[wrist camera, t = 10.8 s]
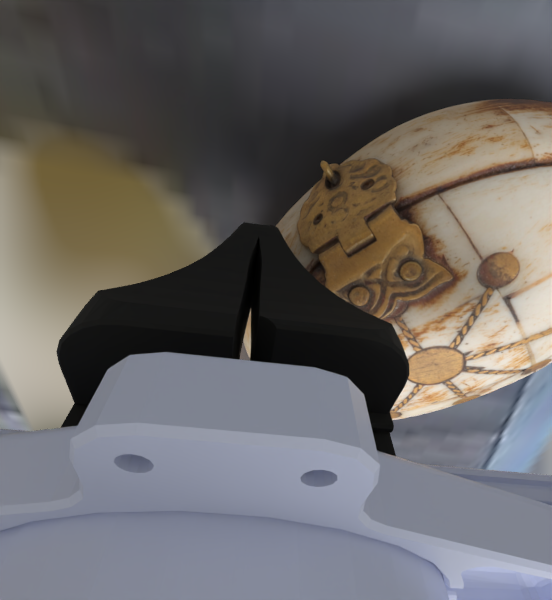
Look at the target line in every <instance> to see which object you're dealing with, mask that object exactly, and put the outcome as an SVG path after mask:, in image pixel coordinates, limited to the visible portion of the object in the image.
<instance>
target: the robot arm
mask: <svg viewBox="0 0 552 600" xmlns="http://www.w3.org/2000/svg"><path fill="white" fill-rule="evenodd" d="M250 310H251V353H250V360H240V353H241V347H242V343H243V339H244V334H245V330H246V326H247V322H248V318H249V314H250ZM57 356H58V361H59V365H60V367H61V370H62V373H63V375H64V377H65V379H66V383H67V385H68V387H69V390H70V392H71V395H72V397H73V400H74V402H75V404H74V405H73V407H72V409H71V411H70V413H69V414H68V416H67V417H66V420H65V421H64V423H63V425H62V426H61V428H54V429H45V430H36V431H20V430H8V429H0V600H552V475H541V474H530V473H518V472H506V471H494V470H482V469H470V468H458V467H447V466H435V465H423V464H418V463H415V462H412V461H409V460H405V459H402V458H399V457H396V455H395V451H394V448H393V444H392V440H391V437H390V433H389V432H392V430H393V426H394V425H393V421H392V418H391V414H390V410H391V409H392V407H393V405H394V404H395V402H396V400H397V399H398V397H399V395H400V394H401V392H402V390H403V388H404V387H405V385H406V382H407V380H408V377H409V375H410V373H409V362H408V359H407V357H406V354H405V351H404V349H403V346H402V344H401V341H400V339H399V337H398V335H397V333H396V331H395V329H394V327H393V325H392V324H391V323H389V322H386V321H384V320H382V319H380V318H378V317H375V316H373V315H371V314H369V313H367V312H365V311H363V310H361V309H359V308H357V307H355V306H354V305H352V304H350V303H348V302H347V301H345V300H344V299H342V298H340V297H339V296H337V295H336V294H335V293H333V292H332V291H330V290H329V289H328V288H326V287H325V286H324V285H323V284H321V283H320V282H319V281H318V280H317V279H316V278H315V277H314V276H312V275H311V274H310V273H309V272H308V271H307V270H306V269H305V268H304V266H303V265H302V264H301V263H300V262H299V260H298V259H297V258H296V257H295V255H294V254H293V252H292V251H291V249H290V248H289V246H288V245H287V243H286V241H285V240H284V238H283V236H282V234H281V232H280V230H279V229H278V227H274V226H267V225H259V224H252V223H243V224H241V225H240V226H239V227H238V229H237V230H236V231H235V232H234V233H233V234H232V235H231V236H230V237H229V238H227V239H226V240H225V241H224V242H223V243H222V244H221V245H220V246H218V247H217V248H216V249H214V250H213V251H212V252H210V253H209V254H208V255H206V256H205V257H203V258H202V259H200V260H198V261H196V262H194V263H192V264H191V265H189V266H186V267H184V268H182V269H179V270H177V271H174V272H172V273H170V274H167V275H164V276H161V277H158V278H155V279H152V280H148V281H145V282H141V283H137V284H133V285H128V286H123V287H117V288H112V289H107V290H100V291H98V292H97V293H96V294H95V295H94V296H93V297H92V298H91V299H90V301H89V302H88V303H87V304H86V305H85V306H84V308H83V309H82V310H81V312H80V313H79V314H78V316H77V317H76V319H75V320H74V321H73V323H72V324H71V325H70V327H69V328H68V329H67V331H66V332H65V333H64V335H63V336H62V337H61V339H60V340H59V344H58V348H57Z"/></svg>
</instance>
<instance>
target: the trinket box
mask: <svg viewBox="0 0 552 600" xmlns="http://www.w3.org/2000/svg"><path fill="white" fill-rule="evenodd" d="M321 168H322V169H323V171H324V173H323V176H322V179H321V180H320V181H318V182H317V183H316V184H315V185H314V186H313V187H312V188H311V189H310V190H309V191H308V192H307V193H306V194H305V195H304V196H303V197H302V198H301V199H300V200H299V201H298V202H297V203H296V204H295V205H294V206H293V207H292V208H291V209H290V210H289V211H288V212H287V213H286V214H285V216H284V217H283V218H282V219H281V220H280V221H279V223H278V224H277V225H276V227H278V229H279V230H280V232H281V234H282V236H283V238H284V240H285V241H286V243H287V245H288V246H289V248H290V249H291V251H292V252H293V254H294V255H295V257H296V258H297V259H298V260H299V262H300V263H301V264H302V265H303V266H304V268H305V269H306V270H307V271H308V272H309V273H310V274H311V275H312V276H314V277H315V278H316V279H317V280H318V281H319V282H320V283H321V284H323V285H324V286H325V287H326V288H328V289H329V290H330V291H332V292H333V293H335V294H336V295H337V296H339V297H340V298H342V299H344V300H345V301H347V302H348V303H350V304H352V305H354V306H355V307H357V308H359V309H361V310H363V311H365V312H367V313H369V314H371V315H373V316H375V317H378V318H380V319H382V320H384V321H386V322H389V323H391V324H392V325H393V327H394V329H395V331H396V333H397V335H398V337H399V339H400V341H401V344H402V346H403V349H404V351H405V354H406V357H407V359H408V362H409V373H410V375H409V377H408V380H407V382H406V385H405V387H404V388H403V390H402V392H401V394H400V395H399V397H398V399H397V400H396V402H395V404H394V405H393V407H392V409H391V410H390V414H391V418H392V420H395V419H402V418H407V417H412V416H418V415H421V414H425V413H430V412H433V411H437V410H440V409H444V408H447V407H450V406H453V405H456V404H460V403H463V402H466V401H469V400H472V399H475V398H477V397H479V396H482V395H485V394H488V393H491V392H493V391H495V390H497V389H499V388H501V387H504V386H506V385H509V384H511V383H513V382H516V381H517V380H519V379H522V378H524V377H526V376H528V375H530V374H532V373H534V372H536V371H538V370H540V369H542V368H543V367H545V366H547V365H548V364H550V363H552V102H543V101H535V100H523V99H495V100H484V101H476V102H471V103H465V104H461V105H456V106H452V107H448V108H444V109H440V110H437V111H434V112H431V113H428V114H425V115H423V116H420V117H417V118H415V119H412V120H410V121H408V122H405V123H403V124H401V125H399V126H397V127H395V128H393V129H391V130H389V131H388V132H386V133H384V134H383V135H381V136H379V137H378V138H376V139H374V140H373V141H371V142H370V143H368V144H367V145H366V146H364V147H363V148H361V149H360V150H359V151H357V152H356V153H355V154H353V155H352V156H350V157H349V158H348V159H346V160H345V161H344V162H343V163H341V164H340V165H338V164H328V163H327V162H326V161H321ZM243 341H244V345H245V348H246V351H247V353H248V355H249V357H250V353H251V310H250V314H249V318H248V322H247V326H246V330H245V334H244V339H243Z"/></svg>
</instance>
